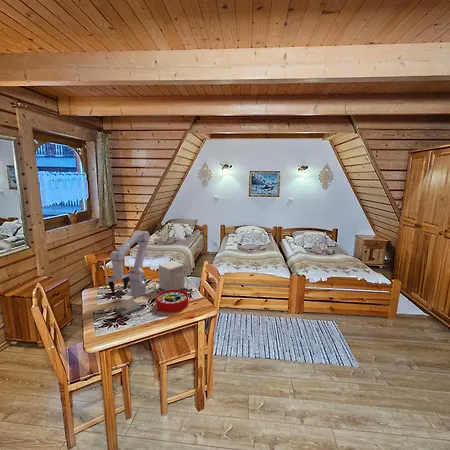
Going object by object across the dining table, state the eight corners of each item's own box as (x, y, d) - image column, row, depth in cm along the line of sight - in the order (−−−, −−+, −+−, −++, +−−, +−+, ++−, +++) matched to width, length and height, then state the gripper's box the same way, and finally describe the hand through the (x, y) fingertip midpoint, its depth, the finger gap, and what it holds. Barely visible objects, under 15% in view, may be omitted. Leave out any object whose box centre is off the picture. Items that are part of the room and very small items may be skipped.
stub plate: (132, 302, 166) (132, 295, 165) (141, 309, 158) (141, 301, 157) (114, 308, 157) (113, 301, 157) (122, 316, 149) (122, 308, 148)
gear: (131, 284, 189) (132, 272, 195) (130, 287, 193) (131, 275, 199) (146, 284, 193) (147, 272, 198) (146, 288, 197) (146, 275, 203)
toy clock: (152, 293, 166) (181, 287, 176) (152, 301, 167) (182, 295, 177) (161, 306, 149) (193, 299, 159) (161, 316, 150) (193, 308, 160)
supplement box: (184, 287, 190) (184, 264, 186) (170, 293, 180) (169, 269, 177) (173, 282, 198) (172, 260, 195) (159, 287, 188) (158, 264, 185)
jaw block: (127, 304, 161) (127, 295, 160) (133, 305, 159) (133, 296, 157) (121, 307, 156) (120, 298, 155) (127, 309, 154) (126, 300, 153)
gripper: (126, 265, 166) (127, 285, 169) (103, 271, 156) (104, 292, 158) (131, 268, 161) (132, 288, 164) (107, 274, 151) (109, 296, 153)
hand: (119, 291), depth 161 cm, fingers open, 7 cm apart
